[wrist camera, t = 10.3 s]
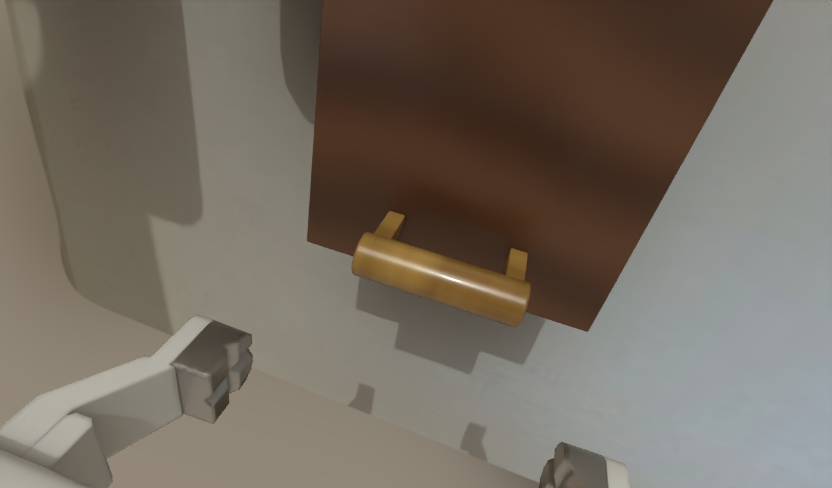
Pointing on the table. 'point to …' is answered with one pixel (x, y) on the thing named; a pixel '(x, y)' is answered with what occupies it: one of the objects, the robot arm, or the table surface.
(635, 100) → the lid
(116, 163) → the table surface
